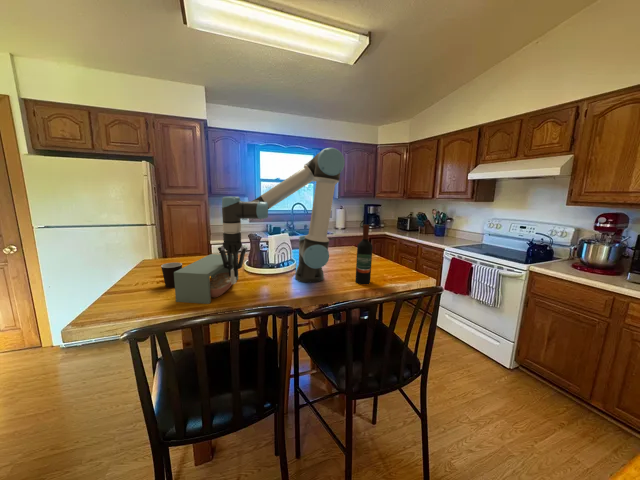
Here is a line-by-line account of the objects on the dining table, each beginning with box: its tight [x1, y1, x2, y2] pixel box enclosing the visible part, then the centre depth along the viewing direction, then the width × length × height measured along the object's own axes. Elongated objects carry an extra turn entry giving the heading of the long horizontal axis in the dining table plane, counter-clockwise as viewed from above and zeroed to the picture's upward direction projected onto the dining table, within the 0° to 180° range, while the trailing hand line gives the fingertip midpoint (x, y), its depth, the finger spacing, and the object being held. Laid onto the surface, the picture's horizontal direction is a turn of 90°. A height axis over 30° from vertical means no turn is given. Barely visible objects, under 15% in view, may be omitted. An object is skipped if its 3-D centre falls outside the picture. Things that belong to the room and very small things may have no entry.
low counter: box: [174, 253, 239, 305], centre depth 124 cm, size 14×31×12 cm, turn 175°
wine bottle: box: [354, 223, 374, 285], centre depth 137 cm, size 8×8×30 cm
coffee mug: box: [160, 262, 183, 289], centre depth 128 cm, size 12×9×10 cm
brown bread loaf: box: [210, 273, 233, 298], centre depth 123 cm, size 23×10×5 cm, turn 1°
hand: (233, 283), depth 123 cm, fingers closed
